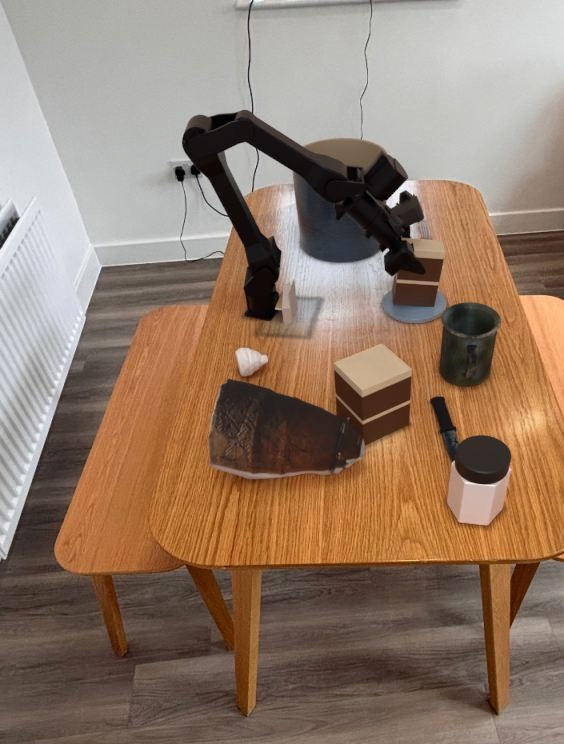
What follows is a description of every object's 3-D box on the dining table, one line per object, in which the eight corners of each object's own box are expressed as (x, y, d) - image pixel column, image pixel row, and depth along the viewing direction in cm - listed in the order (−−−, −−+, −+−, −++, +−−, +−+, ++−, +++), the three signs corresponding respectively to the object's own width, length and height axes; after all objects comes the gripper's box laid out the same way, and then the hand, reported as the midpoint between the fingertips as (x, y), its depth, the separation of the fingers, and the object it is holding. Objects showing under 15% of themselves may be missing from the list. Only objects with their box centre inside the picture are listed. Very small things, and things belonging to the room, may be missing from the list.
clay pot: (370, 444, 96) (206, 410, 95) (352, 516, 107) (204, 486, 106) (377, 392, 107) (231, 360, 106) (360, 462, 118) (227, 434, 117)
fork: (418, 211, 176) (418, 200, 174) (431, 239, 161) (432, 227, 159) (408, 211, 176) (408, 201, 174) (420, 239, 161) (421, 228, 159)
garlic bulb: (272, 376, 127) (269, 353, 123) (242, 382, 126) (238, 359, 122) (266, 360, 130) (262, 337, 126) (237, 366, 129) (233, 343, 125)
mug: (489, 354, 130) (497, 301, 120) (496, 401, 120) (506, 347, 111) (435, 354, 130) (439, 301, 121) (438, 401, 121) (444, 347, 111)
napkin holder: (276, 323, 139) (272, 292, 134) (283, 306, 144) (279, 275, 138) (292, 324, 139) (288, 293, 133) (298, 307, 143) (295, 276, 138)
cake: (336, 418, 118) (333, 362, 109) (381, 398, 122) (382, 342, 112) (363, 446, 113) (361, 390, 104) (409, 425, 117) (412, 369, 107)
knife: (429, 397, 119) (445, 395, 120) (429, 403, 121) (444, 400, 121) (456, 476, 106) (473, 473, 106) (455, 481, 107) (473, 479, 107)
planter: (290, 228, 167) (282, 145, 151) (371, 215, 170) (371, 132, 155) (310, 270, 153) (303, 183, 138) (398, 255, 156) (401, 168, 141)
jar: (468, 479, 107) (476, 425, 98) (510, 501, 104) (523, 448, 95) (437, 510, 103) (443, 457, 94) (480, 535, 100) (490, 483, 90)
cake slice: (393, 304, 139) (401, 249, 129) (391, 292, 142) (399, 237, 133) (434, 307, 139) (445, 252, 130) (431, 294, 143) (442, 240, 133)
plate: (374, 316, 140) (374, 312, 139) (394, 284, 148) (394, 280, 147) (436, 328, 136) (436, 324, 135) (453, 294, 144) (454, 290, 144)
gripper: (404, 207, 116) (458, 262, 124) (396, 165, 128) (447, 218, 137) (361, 250, 122) (416, 300, 131) (358, 206, 134) (408, 254, 143)
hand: (423, 266), depth 135 cm, fingers closed on cake slice, 5 cm apart
